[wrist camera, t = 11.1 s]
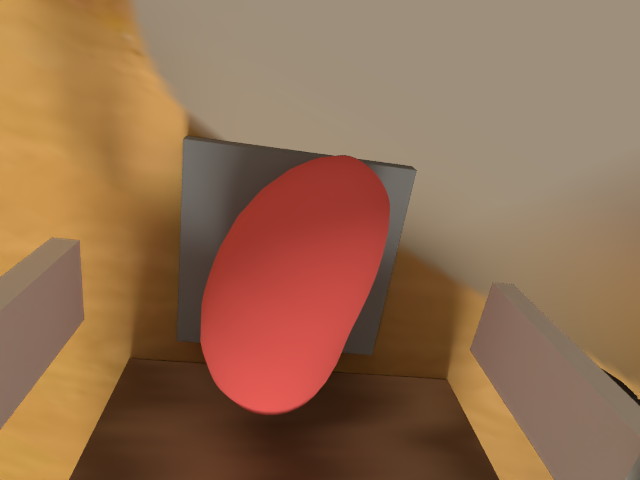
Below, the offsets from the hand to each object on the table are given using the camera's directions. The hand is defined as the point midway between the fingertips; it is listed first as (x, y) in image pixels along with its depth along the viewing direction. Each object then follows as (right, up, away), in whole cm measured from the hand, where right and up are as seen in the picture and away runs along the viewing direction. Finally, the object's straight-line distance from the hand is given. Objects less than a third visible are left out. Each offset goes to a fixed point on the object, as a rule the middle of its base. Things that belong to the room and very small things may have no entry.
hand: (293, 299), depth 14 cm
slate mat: (0, +1, +3) cm, 3 cm away
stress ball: (0, +1, +2) cm, 3 cm away
